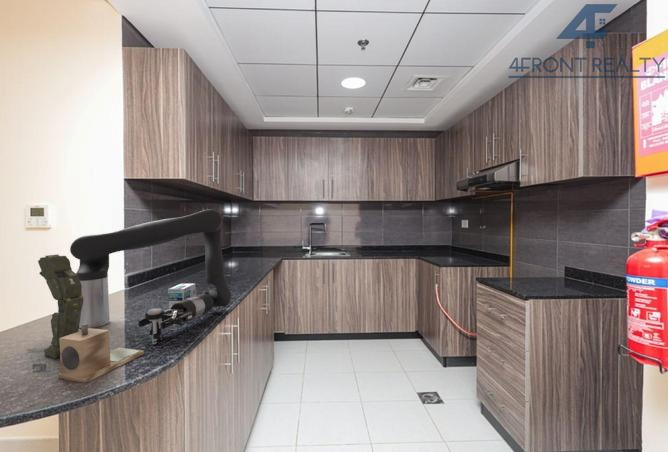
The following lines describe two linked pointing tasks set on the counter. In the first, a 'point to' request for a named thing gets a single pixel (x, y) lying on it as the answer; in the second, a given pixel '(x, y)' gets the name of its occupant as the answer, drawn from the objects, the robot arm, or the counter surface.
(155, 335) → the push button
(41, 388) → the counter surface
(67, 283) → the mechanical leg
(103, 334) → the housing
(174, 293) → the light bulb box
